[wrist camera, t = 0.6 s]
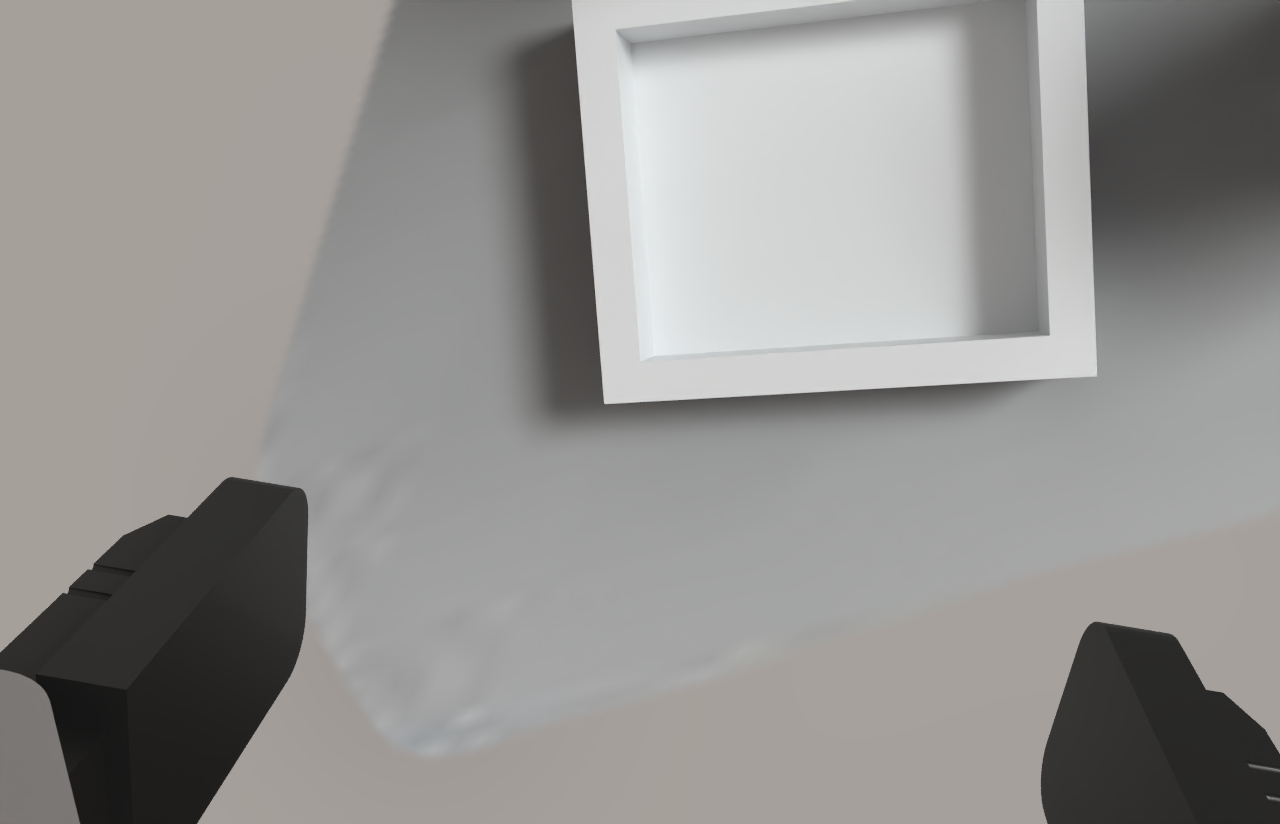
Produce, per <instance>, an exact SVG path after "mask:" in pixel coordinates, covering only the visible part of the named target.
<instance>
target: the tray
mask: <svg viewBox="0 0 1280 824" xmlns="http://www.w3.org/2000/svg"><path fill="white" fill-rule="evenodd" d="M572 10H573V23H574V35H575V48H576V60H577V73H578V85H579V97H580V110H581V122H582V135H583V147H584V160H585V172H586V184H587V197H588V209H589V222H590V234H591V246H592V259H593V271H594V284H595V296H596V309H597V321H598V333H599V346H600V358H601V371H602V383H603V396H604V404H616V403H634V402H651V401H669V400H686V399H704V398H722V397H739V396H757V395H774V394H792V393H809V392H827V391H844V390H862V389H880V388H897V387H915V386H932V385H950V384H967V383H985V382H1003V381H1020V380H1038V379H1055V378H1073V377H1090V376H1097V359H1096V331H1095V303H1094V275H1093V246H1092V218H1091V190H1090V162H1089V133H1088V105H1087V77H1086V49H1085V20H1084V0H572Z"/></svg>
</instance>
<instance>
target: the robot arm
mask: <svg viewBox="0 0 1280 824" xmlns="http://www.w3.org/2000/svg"><path fill="white" fill-rule="evenodd" d="M307 537H308V504H307V498H306V495H305V492H304V491H303V490H302V489H300V488H295V487H289V486H283V485H277V484H271V483H265V482H259V481H253V480H247V479H241V478H234V477H230V478H227V479H226V480H224V481H223V482H222V483H221V484H220V485H219V486H218V487H217V488H216V489H215V490H214V491H213V492H212V493H211V494H210V495H209V496H208V497H207V498H206V499H205V500H204V502H202V504H201V505H200V506H199V507H198V508H197V509H196V510H195V511H194V512H193V513H192V514H191V515H190V516H189V517H188V518H184V517H179V516H173V515H167V516H165V517H163V518H160V519H158V520H156V521H154V522H152V523H150V524H148V525H145V526H143V527H141V528H139V529H137V530H134V531H132V532H130V533H128V534H126V535H124V536H122V537H121V538H120V539H119V540H118V541H117V542H116V543H115V544H114V545H113V546H112V547H111V548H110V549H109V550H108V551H107V552H106V553H105V554H103V555H102V556H101V557H100V558H99V559H98V560H97V561H96V562H95V563H94V567H93V569H92V570H87V571H86V572H85V573H84V574H82V575H81V576H80V577H79V578H78V579H77V580H76V581H75V582H74V583H73V584H72V585H71V586H70V587H69V592H68V594H65V593H62V595H60V596H59V597H58V598H57V599H56V600H55V601H54V602H53V603H52V604H51V605H50V606H49V607H48V608H47V609H46V610H45V611H44V612H43V613H41V614H40V616H38V618H36V619H35V620H34V621H33V622H32V623H31V624H30V625H29V626H28V627H27V628H26V629H25V630H24V631H23V632H22V633H21V634H19V635H18V636H17V637H16V638H15V639H14V640H13V641H12V642H11V643H10V644H9V645H8V646H7V647H6V648H5V649H4V650H3V651H2V652H0V824H197V823H198V821H199V819H200V818H201V816H202V814H203V813H204V812H205V810H206V808H207V807H208V805H209V804H210V802H211V801H212V799H213V797H214V796H215V794H216V793H217V791H218V789H219V788H220V786H221V785H222V783H223V782H224V780H225V779H226V777H227V775H228V774H229V772H230V771H231V769H232V767H233V766H234V764H235V763H236V761H237V760H238V758H239V756H240V755H241V753H242V752H243V750H244V748H245V747H246V745H247V744H248V742H249V740H250V739H251V738H252V736H253V734H254V733H255V731H256V730H257V728H258V727H259V725H260V723H261V722H262V720H263V719H264V717H265V715H266V714H267V712H268V711H269V709H270V708H271V706H272V704H273V703H274V701H275V700H276V698H277V697H278V695H279V693H280V692H281V690H282V689H283V687H284V686H285V684H286V682H287V681H288V679H289V677H290V675H291V673H292V671H293V669H294V666H295V664H296V661H297V658H298V655H299V652H300V648H301V644H302V640H303V634H304V628H305V617H306V579H307ZM1041 796H1042V804H1043V809H1044V813H1045V816H1046V820H1047V823H1048V824H1280V754H1279V752H1278V750H1277V749H1276V747H1275V745H1274V744H1273V742H1272V741H1271V739H1270V737H1269V736H1268V734H1267V732H1266V731H1265V729H1264V728H1262V727H1261V726H1260V725H1259V724H1258V723H1257V722H1256V721H1255V720H1253V719H1252V718H1251V717H1250V716H1249V715H1248V714H1246V713H1245V712H1244V711H1243V710H1242V709H1241V708H1240V707H1239V706H1238V705H1236V704H1235V703H1234V702H1233V701H1232V700H1231V699H1230V698H1228V697H1227V696H1226V695H1225V694H1224V693H1221V692H1215V691H1209V690H1206V689H1205V687H1204V686H1203V684H1202V682H1201V680H1200V678H1199V677H1198V675H1197V673H1196V671H1195V670H1194V668H1193V666H1192V664H1191V662H1190V661H1189V659H1188V657H1187V655H1186V654H1185V652H1184V650H1183V648H1182V647H1181V645H1180V643H1179V641H1178V640H1177V639H1176V637H1174V636H1173V635H1171V634H1168V633H1162V632H1156V631H1150V630H1144V629H1138V628H1132V627H1126V626H1120V625H1114V624H1107V623H1102V622H1093V623H1092V624H1090V625H1089V626H1088V627H1087V629H1086V630H1085V632H1084V634H1083V636H1082V638H1081V640H1080V643H1079V646H1078V649H1077V652H1076V655H1075V658H1074V661H1073V664H1072V668H1071V671H1070V673H1069V677H1068V680H1067V683H1066V686H1065V689H1064V692H1063V695H1062V698H1061V701H1060V704H1059V707H1058V710H1057V713H1056V716H1055V719H1054V723H1053V726H1052V729H1051V732H1050V735H1049V738H1048V741H1047V744H1046V748H1045V752H1044V757H1043V764H1042V772H1041Z"/></svg>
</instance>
